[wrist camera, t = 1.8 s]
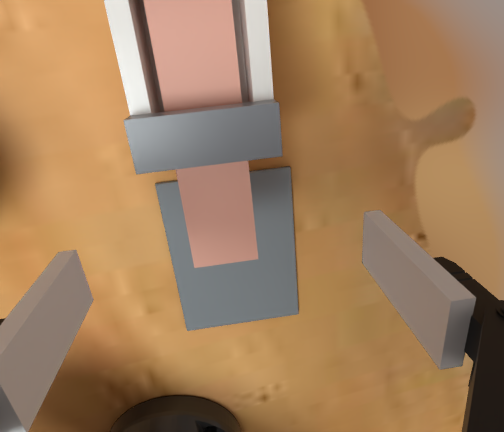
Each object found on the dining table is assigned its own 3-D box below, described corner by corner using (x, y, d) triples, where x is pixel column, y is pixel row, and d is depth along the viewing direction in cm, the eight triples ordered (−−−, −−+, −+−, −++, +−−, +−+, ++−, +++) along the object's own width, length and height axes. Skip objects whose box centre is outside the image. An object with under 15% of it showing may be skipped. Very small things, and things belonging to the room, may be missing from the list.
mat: (297, 311, 35) (298, 314, 35) (187, 328, 35) (187, 330, 34) (289, 166, 29) (290, 167, 29) (155, 183, 29) (155, 184, 28)
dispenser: (255, 120, 28) (305, 185, 13) (164, 131, 27) (112, 210, 13) (234, -110, 22) (280, -449, 7) (119, -101, 22) (-70, -442, 7)
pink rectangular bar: (254, 244, 24) (258, 259, 22) (195, 252, 24) (194, 268, 22) (218, -92, 17) (219, -110, 15) (133, -85, 17) (123, -103, 15)
